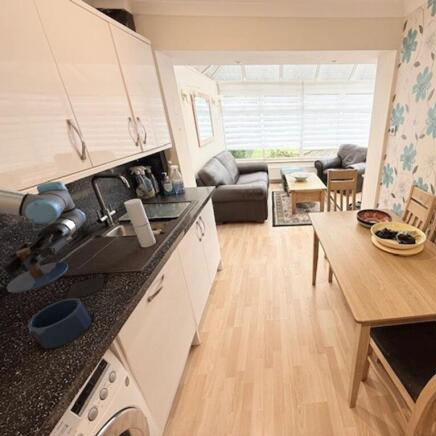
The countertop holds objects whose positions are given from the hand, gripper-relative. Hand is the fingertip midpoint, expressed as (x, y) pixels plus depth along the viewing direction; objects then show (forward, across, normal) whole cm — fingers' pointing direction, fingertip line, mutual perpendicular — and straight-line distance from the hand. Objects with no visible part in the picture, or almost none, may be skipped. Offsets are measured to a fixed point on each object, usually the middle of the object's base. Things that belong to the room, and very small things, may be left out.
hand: (16, 269), depth 65 cm
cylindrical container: (-54, -17, -27) cm, 63 cm away
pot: (-2, 0, -27) cm, 27 cm away
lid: (-5, 0, -7) cm, 9 cm away
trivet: (-26, +2, -27) cm, 37 cm away
